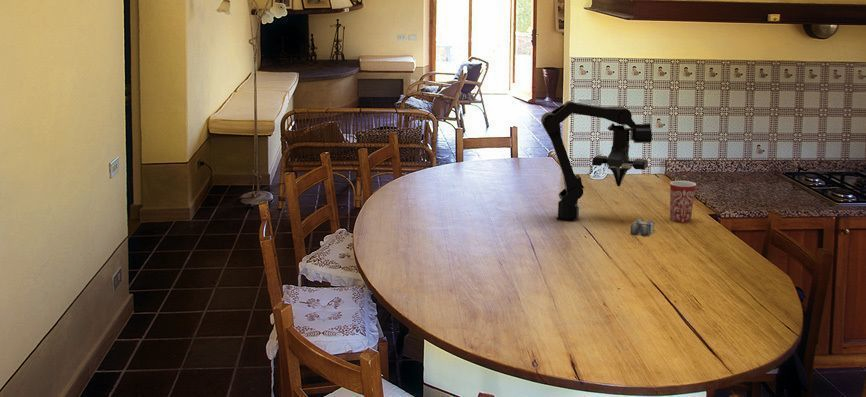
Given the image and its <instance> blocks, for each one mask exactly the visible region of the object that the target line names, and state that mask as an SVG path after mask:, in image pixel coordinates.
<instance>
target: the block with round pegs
mask: <svg viewBox="0 0 866 397" xmlns="http://www.w3.org/2000/svg"><path fill="white" fill-rule="evenodd" d="M639 219H640V218H636V219H635V221H634V222H632V224H637V225H639V234H641V226H642V225H648V226H649V235H652V234H653V233H654V231H653V224H654V225H655V221H653V222H651V221H648V220H646V221H647V222H646V221H645V220H643V221H640V220H639Z"/></svg>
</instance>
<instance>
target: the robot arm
mask: <svg viewBox="0 0 866 397" xmlns="http://www.w3.org/2000/svg"><path fill="white" fill-rule="evenodd" d="M572 114H573V115H574V114H575V115H582V116H587V117H593V118H598V119H605V120H607V121H610V122H612V123H611V124H610V125H609V126H608V127H607V130H609V131H611V132H612V146H611V148H610V150H611V151H610V153H609V154H608V156H607V155H599V154H598V155H596V156H594V157H593V158H592V160H591V166H598V167H601V166H602V165H603V164H605V165H606V164H607V166H608V167H607V169H608V170H610V171H611V172H612V174H613V176H614V179H615V183H616V186H617V187H621V185H622V183H623V181H624V178H625V175H626V174H627V173H628V171H629V170H631V169H632V168H633V169H635V170H641V171H642V170H645V169H647V168H648V165H649V161H648V159H646V158H636V159H634V160H629V159H630V155H629V152H630V151H629V150H630V146H631V145H630V140H631V141H633V144H650V143H651V142H652V139H653V133H652V129H651V128H652V127H651V124H650V123H636V122H635V121H634V119H633V117H632V116H633V115H632V113H631V111H630V110H629V109H628V108H626V107H625V106H608V107H607V106H599V105H595V104H594V105H592V104H587V103H580V102H574V101H571V100H567V101H566V102H565V103H564V104H562V105H560V106H559V107H556V108H555V109H553V110H552V111H549V112H545V113H543V114H542V116H541V117H540V123H541V125H542V126H543V127H542V128H543V129H544V130H545V132H546V134H547V136H548V137H549V139H550V141H551V144H552V147H553V149H554V152H555V156H556V158H557V161H558V164H559V167H560V170H561V173H562V178H563V179H562V180H563V186H564V188H563V189H562V191H560V192H558V196H559V199H560V200H559V201H558V207H557V217H556V218H555V219H556V220H561V221H570V222H574V221H575V220H577V219H578V218H580V217H579V216H580V215H579V214H580V206H579V205H578V203H579V202H578V201H579V199H581V198H582V197H583V195H584V189H585V186H584V185H583V182H582V181H583V180H582V178H581V176H580V174H579V173H578V174H575V173H574V170H573V167H572V164H571V162H570V158H569V156H568V153H567V150H566V147H565V144H564V141H563V139H562V132H561V130H562V129H561V123H563V122H564V121H565V120H567V118H569V117H570V116H571V115H572ZM616 124H618V125H616ZM625 125H626V126H627V127H625Z"/></svg>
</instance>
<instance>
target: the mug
mask: <svg viewBox="0 0 866 397" xmlns="http://www.w3.org/2000/svg"><path fill="white" fill-rule="evenodd" d="M669 186H670V187H669V188H670V190H669V191H670V192H669V193H670V194H669V195H670V196H669V198H670V199H669V200H670V201H669V220H670V221H672V222H675V223H689V222H691V221H692V214H693V206H694V201H695V194H696V192H695V191H696V186H697V183H696V182H693V181H689V180H672V181H670V182H669Z"/></svg>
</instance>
